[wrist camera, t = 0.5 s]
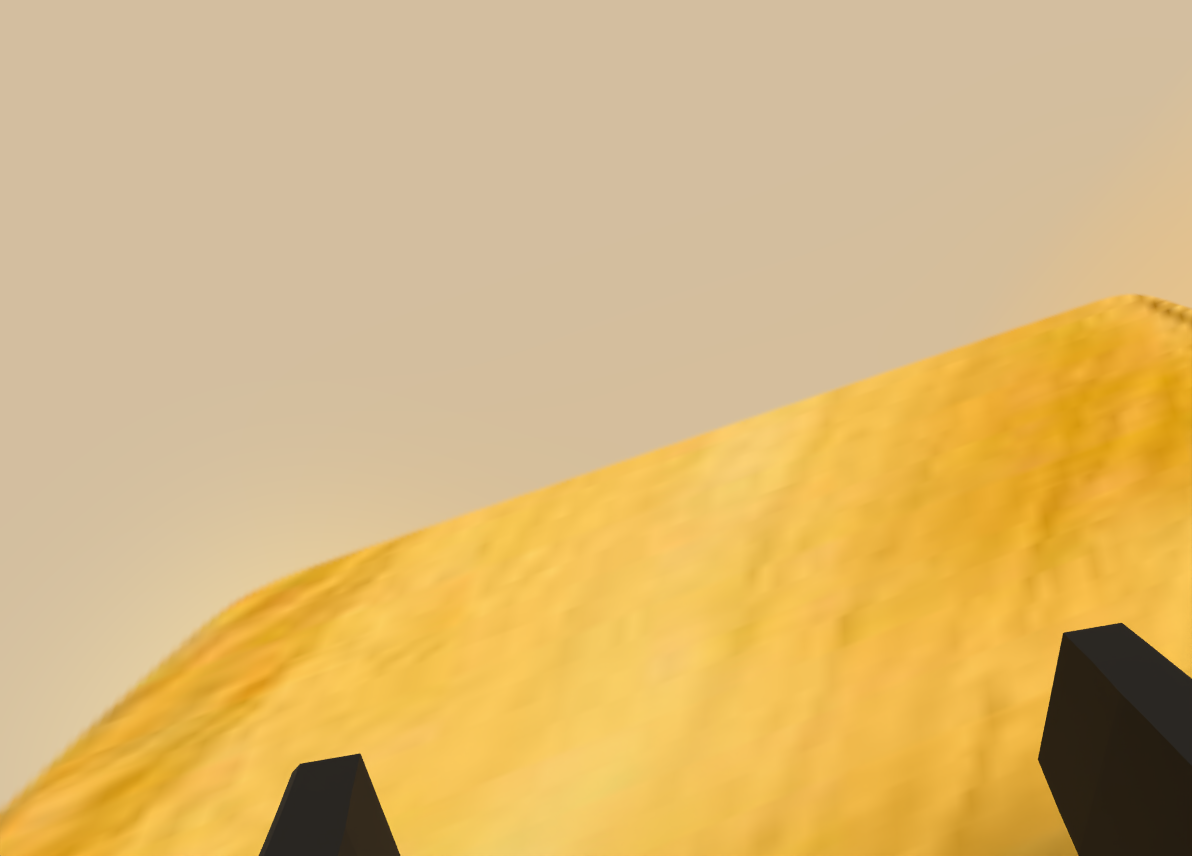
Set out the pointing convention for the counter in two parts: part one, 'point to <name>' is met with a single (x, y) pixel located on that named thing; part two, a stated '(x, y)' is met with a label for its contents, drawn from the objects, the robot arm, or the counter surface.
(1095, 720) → the robot arm
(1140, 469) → the counter surface
